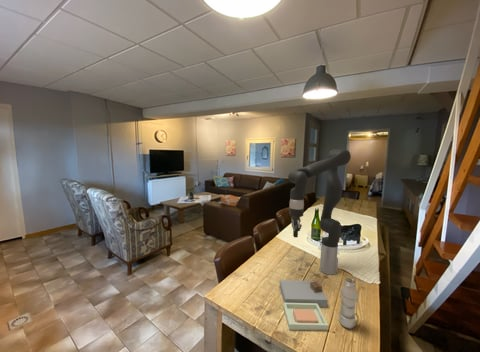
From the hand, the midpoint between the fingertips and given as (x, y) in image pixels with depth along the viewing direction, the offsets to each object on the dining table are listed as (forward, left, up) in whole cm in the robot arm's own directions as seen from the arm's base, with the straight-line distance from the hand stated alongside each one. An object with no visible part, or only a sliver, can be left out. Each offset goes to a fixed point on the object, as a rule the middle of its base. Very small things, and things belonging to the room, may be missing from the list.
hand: (295, 236), depth 111 cm
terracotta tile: (+2, +29, -23) cm, 37 cm away
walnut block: (-8, +13, -22) cm, 27 cm away
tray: (+2, +27, -26) cm, 37 cm away
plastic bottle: (-15, +29, -26) cm, 42 cm away
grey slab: (-1, +13, -26) cm, 29 cm away
